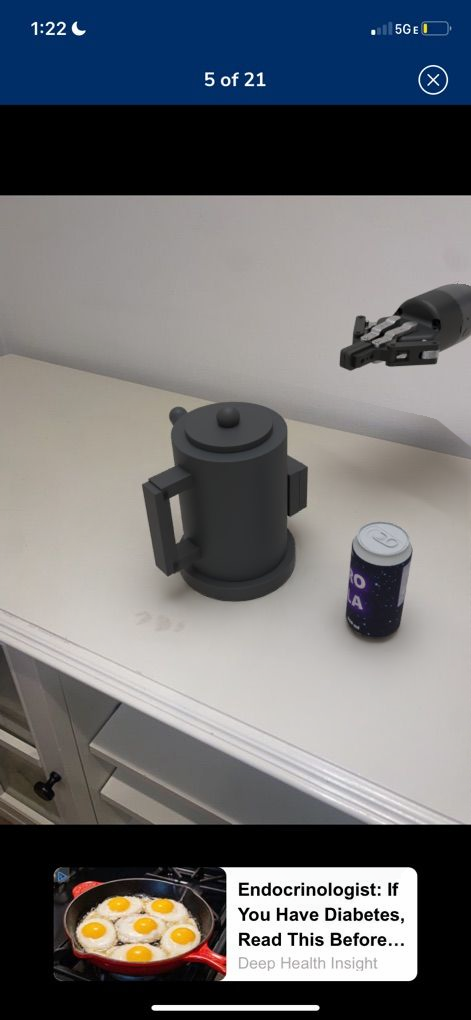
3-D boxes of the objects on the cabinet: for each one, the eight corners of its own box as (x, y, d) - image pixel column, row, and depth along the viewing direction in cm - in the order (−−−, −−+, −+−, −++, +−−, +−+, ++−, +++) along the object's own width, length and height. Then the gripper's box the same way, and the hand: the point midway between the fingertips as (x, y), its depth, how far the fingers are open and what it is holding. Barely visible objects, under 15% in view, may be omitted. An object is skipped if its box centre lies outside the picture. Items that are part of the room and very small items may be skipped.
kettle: (237, 491, 86) (228, 349, 73) (329, 555, 75) (338, 401, 62) (118, 553, 77) (85, 404, 64) (203, 636, 66) (183, 475, 53)
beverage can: (366, 595, 69) (376, 510, 62) (410, 621, 66) (426, 535, 58) (334, 623, 66) (340, 538, 59) (378, 652, 63) (391, 566, 55)
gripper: (400, 278, 81) (304, 313, 72) (491, 303, 72) (394, 346, 64) (394, 333, 85) (303, 373, 77) (479, 363, 77) (386, 410, 69)
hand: (344, 361), depth 71 cm, fingers closed
